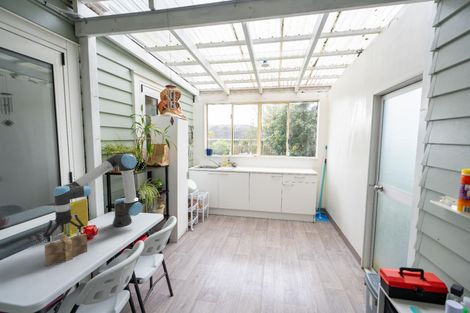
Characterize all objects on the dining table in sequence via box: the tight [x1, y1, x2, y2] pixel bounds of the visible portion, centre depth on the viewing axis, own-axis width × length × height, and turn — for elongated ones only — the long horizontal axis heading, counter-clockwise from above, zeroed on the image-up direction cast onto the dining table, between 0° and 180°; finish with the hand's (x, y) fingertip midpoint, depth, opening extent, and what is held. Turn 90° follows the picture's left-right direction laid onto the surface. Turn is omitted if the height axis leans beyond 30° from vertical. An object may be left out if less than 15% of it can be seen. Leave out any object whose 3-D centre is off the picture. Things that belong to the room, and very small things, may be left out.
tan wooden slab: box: [59, 234, 74, 262], centre depth 126 cm, size 3×14×12 cm, turn 52°
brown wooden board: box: [44, 232, 88, 266], centre depth 124 cm, size 20×3×12 cm, turn 142°
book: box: [63, 198, 89, 237], centre depth 161 cm, size 17×7×25 cm, turn 168°
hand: (65, 241), depth 128 cm, fingers open, 13 cm apart
